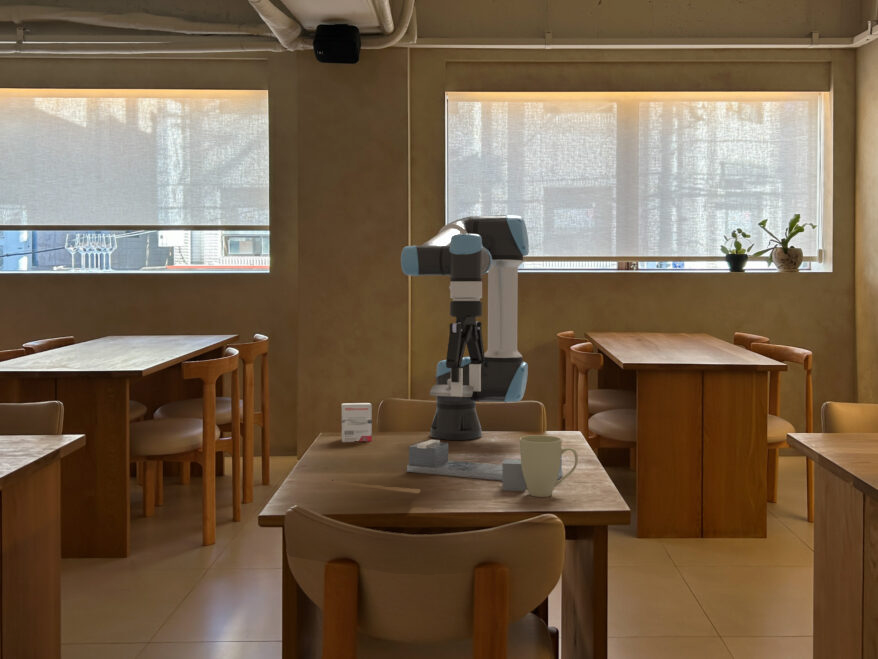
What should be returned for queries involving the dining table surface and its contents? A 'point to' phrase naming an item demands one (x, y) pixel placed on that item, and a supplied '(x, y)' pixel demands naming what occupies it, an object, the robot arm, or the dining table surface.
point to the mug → (542, 463)
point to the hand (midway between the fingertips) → (466, 393)
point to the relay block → (512, 475)
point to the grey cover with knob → (449, 392)
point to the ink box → (356, 422)
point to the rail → (451, 463)
